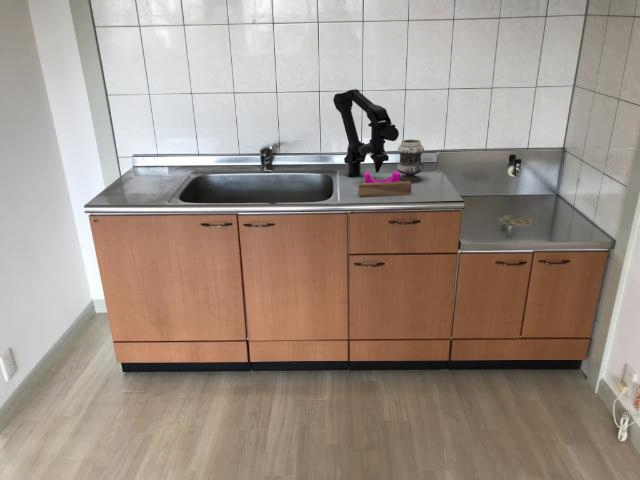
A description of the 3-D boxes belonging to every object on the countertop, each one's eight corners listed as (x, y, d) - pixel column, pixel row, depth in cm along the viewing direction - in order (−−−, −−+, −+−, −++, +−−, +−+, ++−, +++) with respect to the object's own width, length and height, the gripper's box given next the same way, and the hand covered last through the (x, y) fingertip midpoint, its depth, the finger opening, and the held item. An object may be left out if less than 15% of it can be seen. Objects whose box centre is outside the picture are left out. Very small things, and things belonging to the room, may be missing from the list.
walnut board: (358, 194, 216) (358, 183, 214) (409, 192, 218) (409, 181, 216) (359, 197, 213) (359, 185, 211) (410, 194, 215) (411, 183, 213)
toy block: (397, 186, 226) (398, 170, 223) (399, 190, 221) (400, 174, 217) (364, 187, 227) (364, 170, 224) (365, 191, 221) (365, 174, 218)
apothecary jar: (412, 174, 242) (414, 136, 235) (428, 180, 232) (430, 141, 225) (391, 178, 238) (392, 139, 230) (405, 184, 228) (407, 144, 220)
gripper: (356, 134, 231) (356, 167, 237) (363, 143, 214) (363, 178, 220) (380, 133, 232) (379, 166, 238) (389, 141, 215) (388, 177, 221)
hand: (377, 172), depth 229 cm, fingers closed
